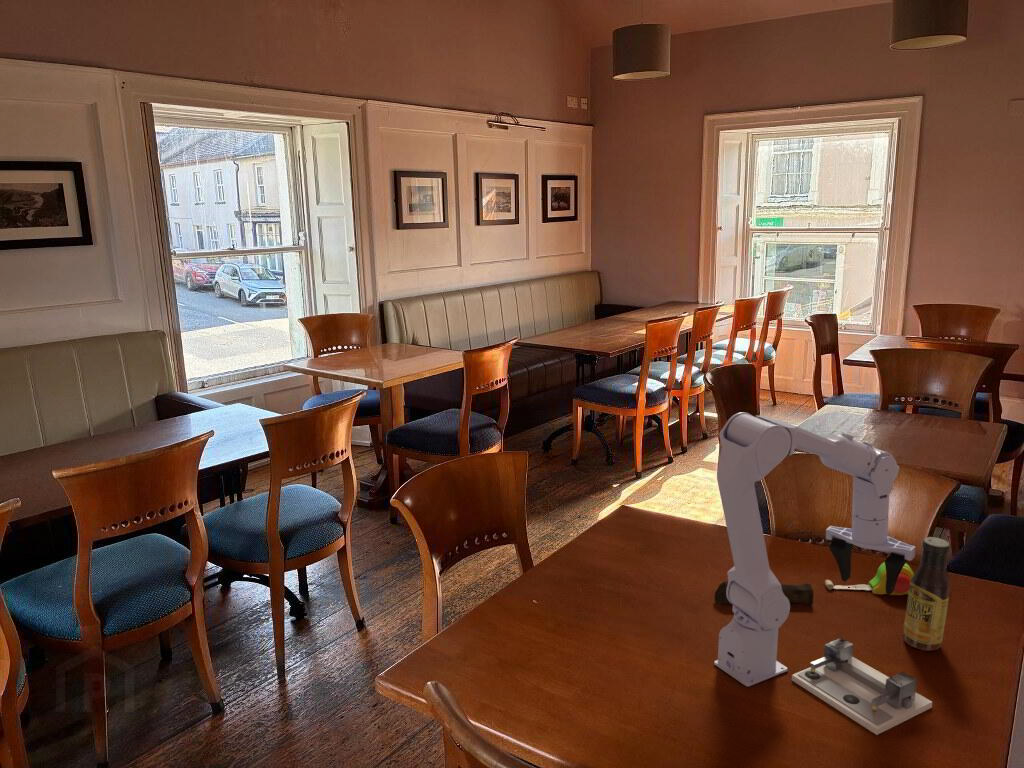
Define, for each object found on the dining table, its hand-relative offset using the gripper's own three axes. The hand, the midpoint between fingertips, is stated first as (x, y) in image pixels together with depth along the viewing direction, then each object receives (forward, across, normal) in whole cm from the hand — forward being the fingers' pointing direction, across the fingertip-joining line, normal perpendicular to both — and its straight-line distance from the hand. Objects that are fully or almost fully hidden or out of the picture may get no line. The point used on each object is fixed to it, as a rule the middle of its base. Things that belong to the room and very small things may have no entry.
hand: (867, 585), depth 138 cm
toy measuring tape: (+12, +6, -20) cm, 24 cm away
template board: (+10, -6, +17) cm, 20 cm away
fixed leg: (+9, 0, +15) cm, 18 cm away
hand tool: (+11, +20, 0) cm, 22 cm away
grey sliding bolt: (+9, -11, +19) cm, 23 cm away
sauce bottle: (+11, -8, -5) cm, 15 cm away
